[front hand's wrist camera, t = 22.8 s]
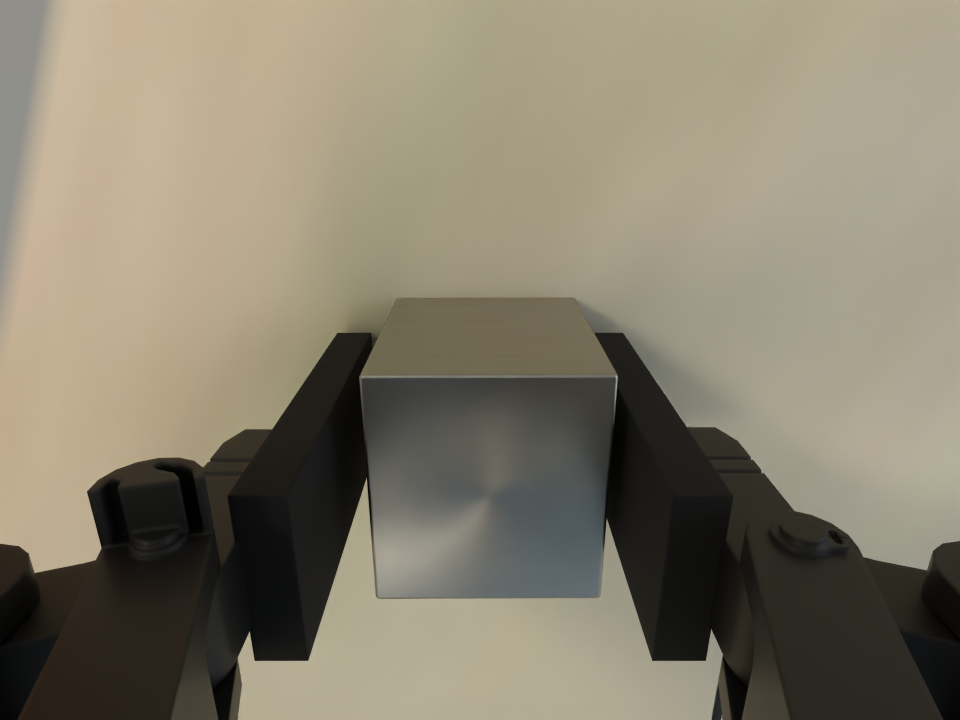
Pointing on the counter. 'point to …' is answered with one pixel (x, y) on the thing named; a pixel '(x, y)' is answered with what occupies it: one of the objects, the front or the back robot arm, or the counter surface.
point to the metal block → (488, 449)
